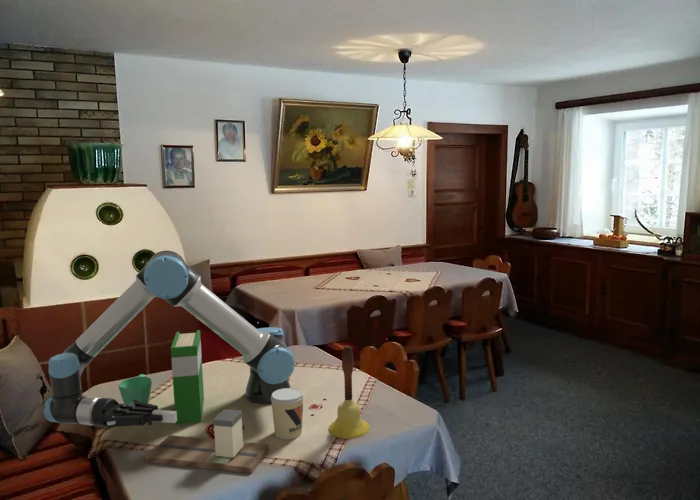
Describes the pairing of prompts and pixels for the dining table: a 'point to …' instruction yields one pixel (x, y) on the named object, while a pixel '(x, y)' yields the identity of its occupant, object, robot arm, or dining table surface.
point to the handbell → (348, 406)
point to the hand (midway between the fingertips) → (175, 417)
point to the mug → (135, 389)
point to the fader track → (206, 454)
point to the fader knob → (228, 433)
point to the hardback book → (187, 377)
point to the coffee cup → (287, 412)
